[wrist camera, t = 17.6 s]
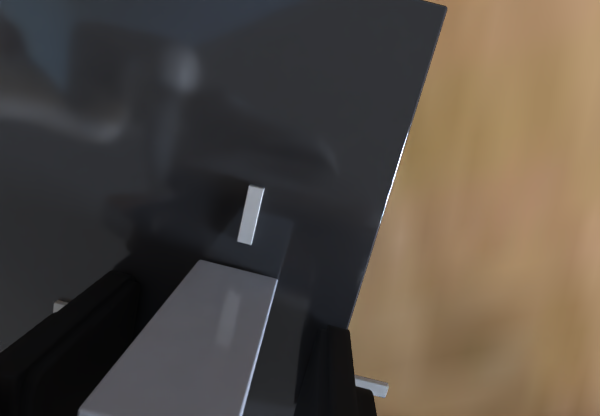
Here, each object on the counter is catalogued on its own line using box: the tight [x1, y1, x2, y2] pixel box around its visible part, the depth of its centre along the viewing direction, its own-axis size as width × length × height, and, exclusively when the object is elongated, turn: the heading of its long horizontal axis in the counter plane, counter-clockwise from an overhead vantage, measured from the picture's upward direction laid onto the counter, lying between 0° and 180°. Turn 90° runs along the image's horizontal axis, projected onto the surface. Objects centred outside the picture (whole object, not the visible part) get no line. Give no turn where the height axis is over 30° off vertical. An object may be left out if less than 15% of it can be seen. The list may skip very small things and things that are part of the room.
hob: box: [0, 0, 447, 416], centre depth 11 cm, size 15×13×3 cm
